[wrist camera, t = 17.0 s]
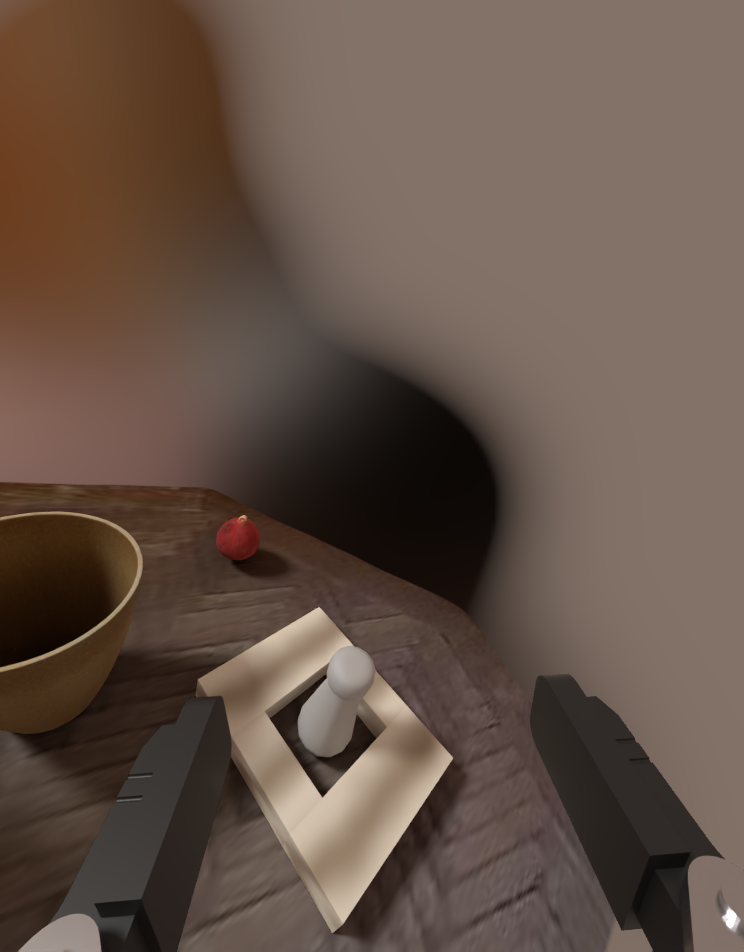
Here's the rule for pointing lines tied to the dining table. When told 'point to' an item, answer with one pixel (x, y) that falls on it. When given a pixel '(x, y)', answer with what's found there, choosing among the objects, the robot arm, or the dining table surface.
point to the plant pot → (61, 613)
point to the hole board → (356, 793)
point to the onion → (238, 538)
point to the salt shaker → (336, 703)
